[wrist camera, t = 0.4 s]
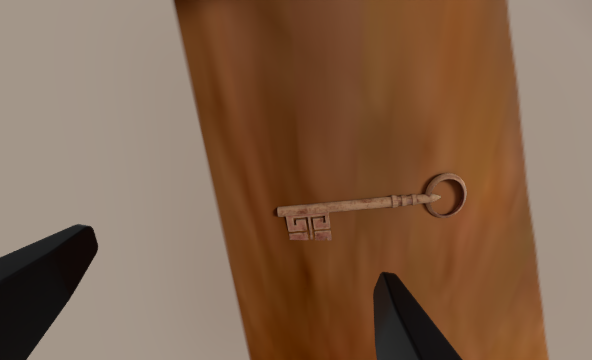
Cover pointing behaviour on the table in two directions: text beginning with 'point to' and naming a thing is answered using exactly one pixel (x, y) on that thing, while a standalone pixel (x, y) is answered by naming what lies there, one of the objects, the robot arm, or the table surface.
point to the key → (325, 208)
